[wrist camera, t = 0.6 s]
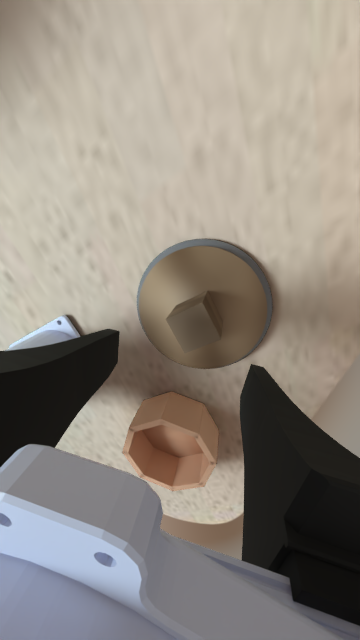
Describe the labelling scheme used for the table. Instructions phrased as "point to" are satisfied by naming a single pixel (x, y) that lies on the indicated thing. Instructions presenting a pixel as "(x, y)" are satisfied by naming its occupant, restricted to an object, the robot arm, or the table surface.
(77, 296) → the table surface
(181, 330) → the lid
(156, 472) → the bowl
